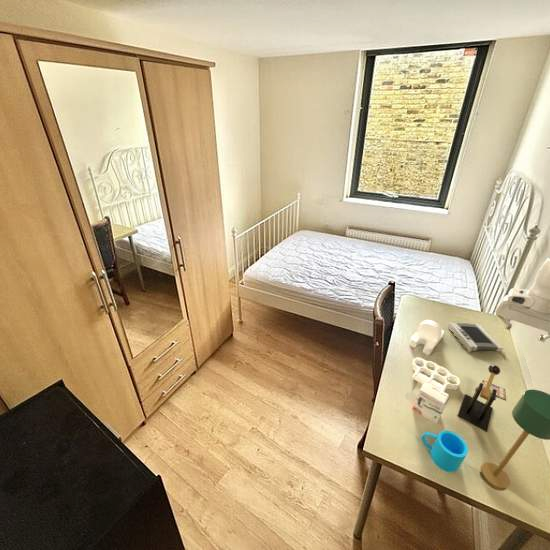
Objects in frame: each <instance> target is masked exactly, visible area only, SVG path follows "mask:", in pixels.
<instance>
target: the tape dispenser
mask: <svg viewBox="0 0 550 550" xmlns="http://www.w3.org/2000/svg"><path fill="white" fill-rule="evenodd" d="M444 333H445V330H444V329H442V327H441V325H440V324H439V323H438V322H436V321H434V320H431V319H425V320H423V321H422V322H420V324H419V325H417V329H416V331H415V333H414V334H413V335H412V336H411V337H410V339H409V342H408V345H409V346H410V347H412V348H413V349H415V348H416V347H417V346H418V345H419V344H420V345H423V349H422V353H423V354H426V355H431V354H432V352H433V351H434V349H435V348H436V347H437V346H438V344H439V343H440V341H441V340H442V339H443V336H444Z"/></svg>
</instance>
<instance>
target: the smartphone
mask: <svg viewBox="0 0 550 550" xmlns="http://www.w3.org/2000/svg"><path fill="white" fill-rule="evenodd" d="M487 382H488V381H486V380H485V379H483V380H482V381H481V383H482V384H483V387H482V389H483V388H485V387H486V385H487ZM493 389H495V390H497V392H496V397H497V398H499V399H501V400H503V401H506V400H507V394H506V388H503V387H501V386H498V385H496V384H495V383H494V384H493V383H492V384H491V387H490V389H489V390H490V391H491V392H492V391H493ZM490 394H491V393H490Z"/></svg>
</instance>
